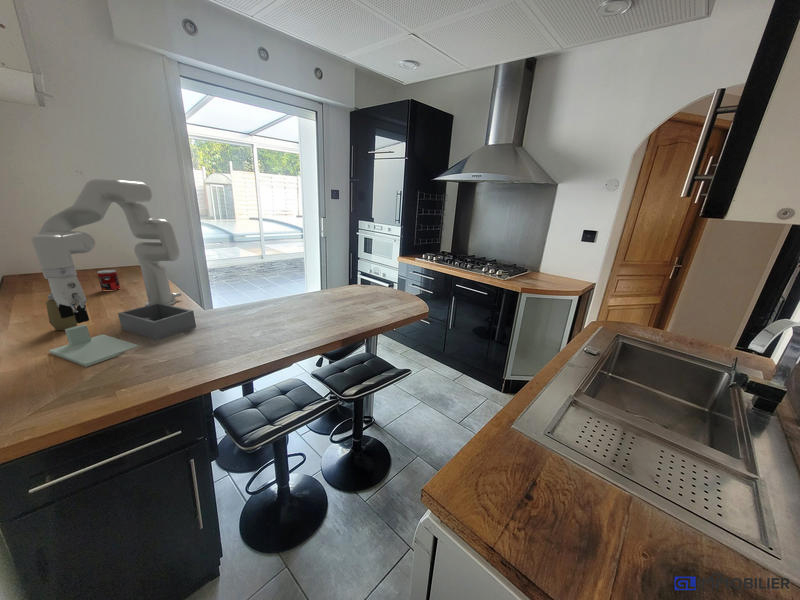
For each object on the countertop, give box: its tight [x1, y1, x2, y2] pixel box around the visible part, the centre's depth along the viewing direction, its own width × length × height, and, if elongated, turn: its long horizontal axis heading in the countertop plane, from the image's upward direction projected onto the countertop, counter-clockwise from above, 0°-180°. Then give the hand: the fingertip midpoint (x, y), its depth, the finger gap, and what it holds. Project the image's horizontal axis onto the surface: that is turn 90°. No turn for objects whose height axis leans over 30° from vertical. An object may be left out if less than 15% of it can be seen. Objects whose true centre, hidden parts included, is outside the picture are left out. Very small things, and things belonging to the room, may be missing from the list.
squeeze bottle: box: [45, 291, 78, 332], centre depth 122 cm, size 8×8×18 cm
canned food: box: [96, 269, 121, 291], centre depth 175 cm, size 8×8×11 cm
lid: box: [48, 324, 140, 368], centre depth 107 cm, size 15×22×8 cm
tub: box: [117, 303, 197, 341], centre depth 125 cm, size 15×22×8 cm
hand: (75, 319), depth 109 cm, fingers open, 9 cm apart
